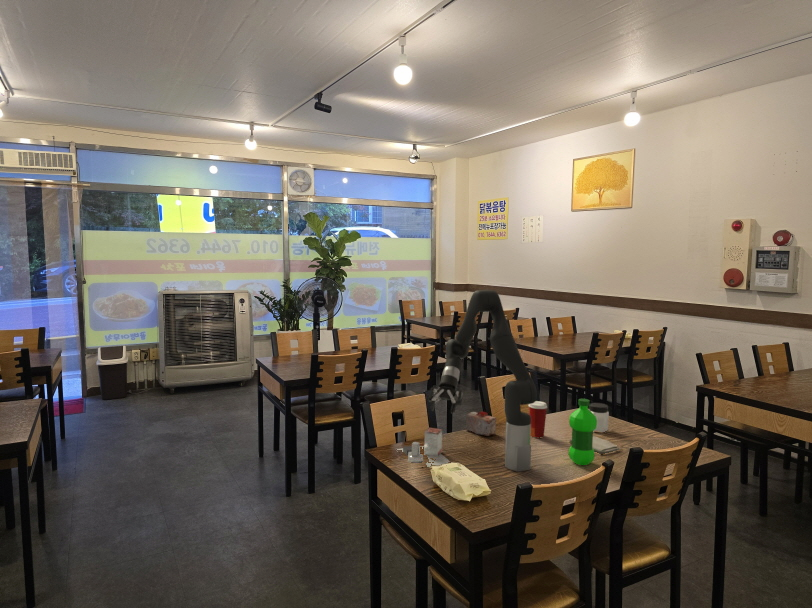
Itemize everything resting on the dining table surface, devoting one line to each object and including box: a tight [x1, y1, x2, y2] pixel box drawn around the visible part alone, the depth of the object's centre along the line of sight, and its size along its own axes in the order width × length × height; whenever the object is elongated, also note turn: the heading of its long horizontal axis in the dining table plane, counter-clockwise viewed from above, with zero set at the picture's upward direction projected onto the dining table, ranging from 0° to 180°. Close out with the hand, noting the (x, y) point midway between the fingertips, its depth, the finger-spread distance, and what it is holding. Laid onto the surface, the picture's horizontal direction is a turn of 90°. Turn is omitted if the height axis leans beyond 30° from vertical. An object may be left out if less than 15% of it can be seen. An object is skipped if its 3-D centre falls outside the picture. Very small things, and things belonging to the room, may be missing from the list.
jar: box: [588, 402, 610, 433], centre depth 248 cm, size 9×8×12 cm
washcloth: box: [569, 435, 620, 455], centre depth 226 cm, size 12×18×3 cm, turn 31°
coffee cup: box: [527, 400, 548, 439], centre depth 238 cm, size 8×8×15 cm
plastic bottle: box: [568, 398, 597, 466], centre depth 206 cm, size 10×10×25 cm
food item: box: [466, 410, 498, 437], centre depth 242 cm, size 14×8×10 cm, turn 48°
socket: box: [423, 427, 443, 457], centre depth 214 cm, size 6×6×10 cm
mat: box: [396, 445, 451, 468], centre depth 211 cm, size 22×16×1 cm
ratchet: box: [402, 441, 423, 463], centre depth 209 cm, size 14×6×7 cm, turn 19°
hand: (441, 411), depth 223 cm, fingers open, 8 cm apart
